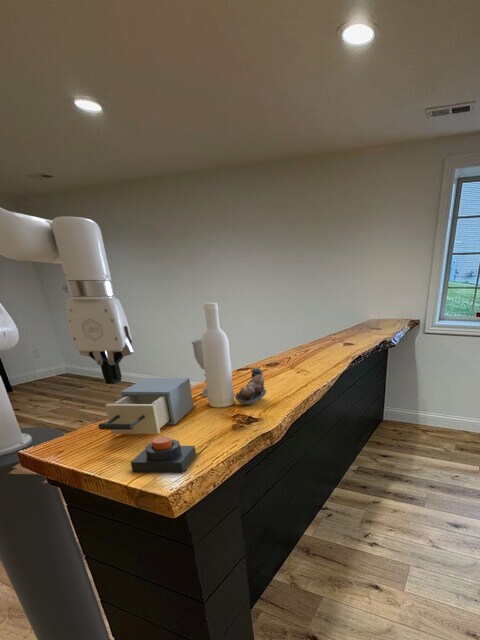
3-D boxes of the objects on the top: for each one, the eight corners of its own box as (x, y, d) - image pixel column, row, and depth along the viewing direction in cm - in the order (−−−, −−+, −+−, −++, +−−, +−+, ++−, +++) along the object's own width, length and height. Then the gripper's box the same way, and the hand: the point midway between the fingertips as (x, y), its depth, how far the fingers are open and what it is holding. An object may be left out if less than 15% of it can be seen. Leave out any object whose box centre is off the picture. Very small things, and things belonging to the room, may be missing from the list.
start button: (150, 451, 70) (148, 443, 69) (158, 443, 73) (156, 436, 73) (168, 451, 70) (166, 443, 69) (175, 443, 73) (173, 436, 73)
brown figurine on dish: (251, 408, 106) (248, 376, 102) (231, 406, 108) (228, 374, 104) (270, 397, 116) (268, 368, 112) (251, 395, 118) (249, 366, 114)
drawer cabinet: (174, 424, 93) (169, 392, 89) (127, 424, 93) (120, 391, 89) (193, 407, 106) (189, 378, 103) (152, 406, 106) (146, 377, 103)
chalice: (220, 391, 123) (214, 339, 116) (220, 396, 117) (213, 342, 110) (199, 392, 121) (191, 339, 114) (197, 397, 115) (189, 342, 108)
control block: (132, 472, 69) (128, 454, 68) (150, 454, 77) (147, 437, 75) (182, 472, 69) (179, 454, 68) (196, 454, 77) (193, 438, 75)
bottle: (230, 398, 115) (220, 302, 103) (238, 405, 109) (228, 303, 97) (206, 402, 111) (192, 302, 99) (212, 409, 105) (199, 303, 93)
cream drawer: (144, 446, 78) (137, 416, 76) (93, 446, 78) (85, 415, 75) (179, 415, 97) (175, 389, 95) (138, 414, 97) (133, 389, 94)
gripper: (39, 291, 65) (67, 387, 72) (119, 291, 65) (140, 387, 72) (66, 290, 71) (90, 378, 79) (139, 291, 72) (156, 378, 79)
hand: (114, 382), depth 75 cm, fingers closed
